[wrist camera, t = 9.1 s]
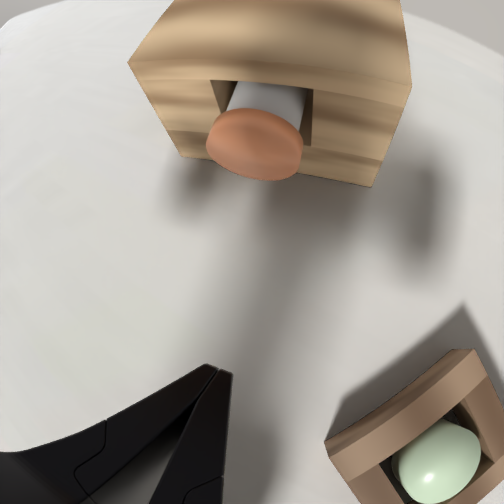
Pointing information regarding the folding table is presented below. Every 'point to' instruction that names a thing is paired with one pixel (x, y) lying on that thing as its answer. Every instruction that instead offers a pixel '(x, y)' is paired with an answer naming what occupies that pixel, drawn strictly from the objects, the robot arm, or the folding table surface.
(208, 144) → the plunger
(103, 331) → the folding table surface
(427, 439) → the table button
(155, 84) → the wooden box
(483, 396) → the button housing
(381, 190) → the folding table surface
